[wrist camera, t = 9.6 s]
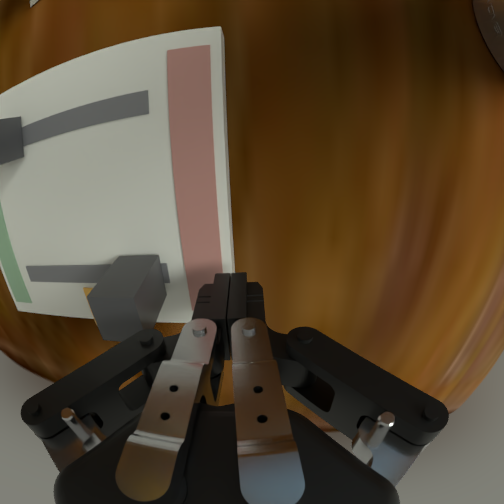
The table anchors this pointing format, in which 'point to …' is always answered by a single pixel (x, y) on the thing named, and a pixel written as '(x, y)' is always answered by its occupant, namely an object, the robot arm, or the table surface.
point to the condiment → (32, 2)
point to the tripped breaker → (128, 296)
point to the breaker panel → (119, 173)
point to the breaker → (11, 140)
